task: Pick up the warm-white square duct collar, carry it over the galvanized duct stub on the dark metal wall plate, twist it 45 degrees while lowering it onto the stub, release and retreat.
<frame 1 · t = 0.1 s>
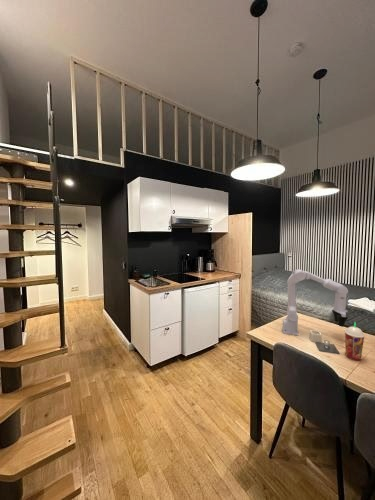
hand: (339, 323, 135), 10 cm above the table, fingers open, 7 cm apart
smoothie: (353, 357, 115), on the table
collar: (315, 340, 135), on the table
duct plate: (326, 348, 125), on the table
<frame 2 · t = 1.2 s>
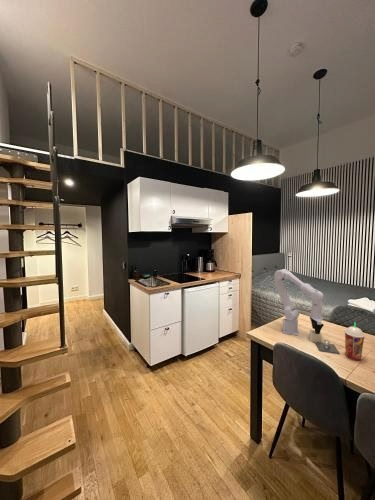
hand: (315, 331, 134), 6 cm above the table, fingers open, 7 cm apart
nothing on the table moved.
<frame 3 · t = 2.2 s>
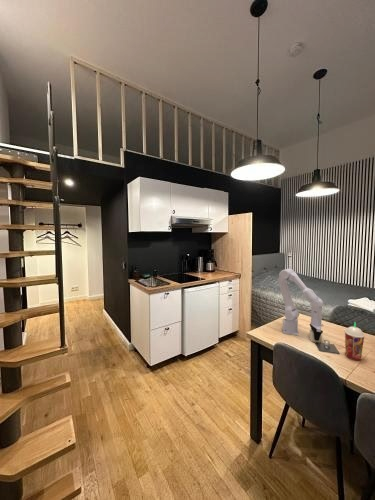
hand: (315, 337, 134), 1 cm above the table, fingers closed on collar, 6 cm apart
collar: (315, 340, 135), on the table, touching gripper
everything else where it was.
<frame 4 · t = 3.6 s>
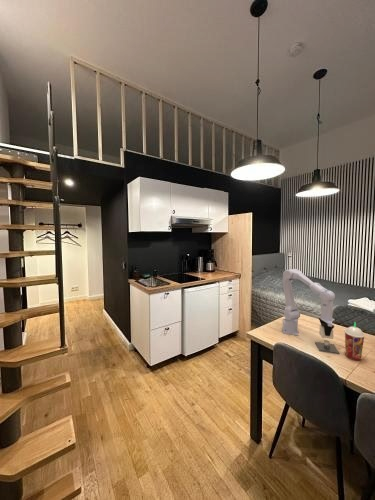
hand: (325, 333, 125), 9 cm above the table, fingers closed on collar, 6 cm apart
collar: (325, 336, 126), point 7 cm above the table, touching gripper
everything else where it was.
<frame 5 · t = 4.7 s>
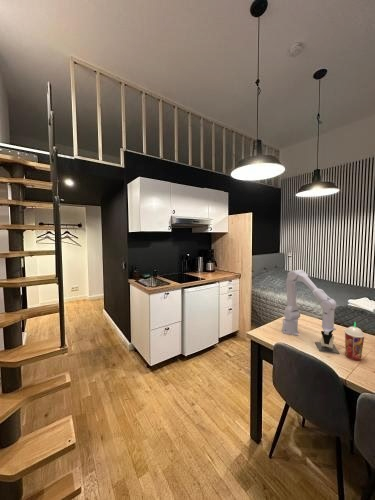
hand: (327, 341, 124), 4 cm above the table, fingers closed on collar, 6 cm apart
collar: (327, 344, 124), point 2 cm above the table, touching gripper
everything else where it was.
when the fingers open (3 cm above the table, at t = 5.5 s): collar stays where it is, resting on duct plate.
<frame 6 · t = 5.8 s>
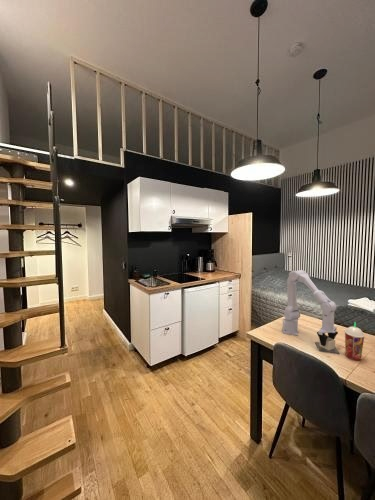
hand: (326, 343, 125), 3 cm above the table, fingers open, 7 cm apart
collar: (327, 347, 125), point 1 cm above the table, touching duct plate
everything else where it was.
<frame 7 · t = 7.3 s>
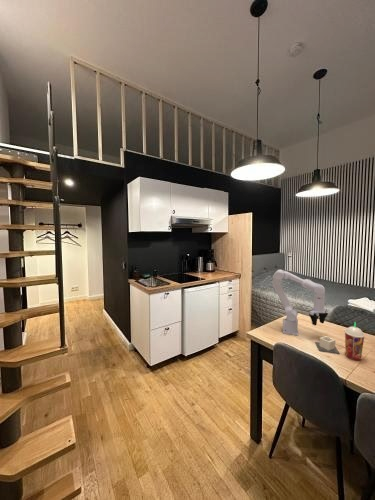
hand: (318, 323, 137), 9 cm above the table, fingers open, 7 cm apart
nothing on the table moved.
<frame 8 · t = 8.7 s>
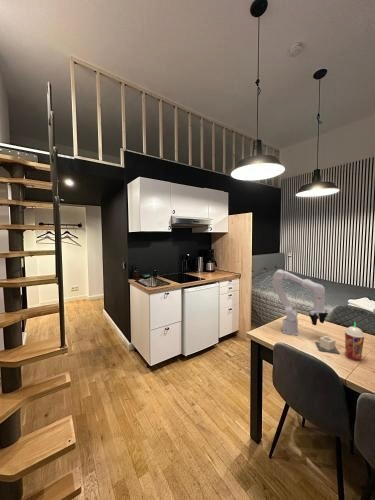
hand: (317, 323, 137), 9 cm above the table, fingers open, 7 cm apart
nothing on the table moved.
at the end: collar 0.1 cm off-centre on the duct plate, point 0.8 cm above the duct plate's base; the gripper is holding nothing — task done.
